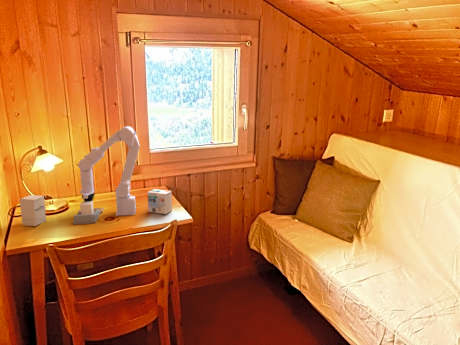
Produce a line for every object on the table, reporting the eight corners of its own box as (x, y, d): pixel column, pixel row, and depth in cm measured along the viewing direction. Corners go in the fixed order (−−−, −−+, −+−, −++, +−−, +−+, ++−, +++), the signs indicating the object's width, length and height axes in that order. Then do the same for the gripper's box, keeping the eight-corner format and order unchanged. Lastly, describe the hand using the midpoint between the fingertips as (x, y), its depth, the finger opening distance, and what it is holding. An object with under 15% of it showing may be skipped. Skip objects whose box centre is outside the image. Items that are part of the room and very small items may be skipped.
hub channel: (100, 213, 185) (99, 206, 185) (95, 223, 172) (95, 214, 171) (79, 214, 184) (78, 207, 183) (73, 224, 170) (72, 216, 169)
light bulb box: (147, 211, 189) (147, 191, 187) (154, 208, 195) (154, 188, 193) (166, 214, 185) (165, 193, 183) (172, 210, 191) (172, 190, 189)
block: (83, 212, 183) (82, 201, 181) (93, 212, 184) (92, 201, 182) (81, 216, 178) (80, 204, 177) (91, 215, 179) (90, 204, 178)
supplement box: (36, 226, 167) (33, 199, 165) (21, 225, 169) (18, 198, 166) (47, 221, 174) (44, 195, 172) (33, 219, 176) (30, 194, 173)
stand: (104, 209, 192) (104, 207, 192) (102, 212, 187) (102, 211, 186) (92, 209, 191) (92, 208, 191) (90, 213, 186) (90, 212, 185)
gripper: (81, 179, 187) (83, 204, 190) (75, 186, 173) (77, 213, 176) (96, 178, 188) (97, 203, 191) (91, 185, 175) (93, 212, 177)
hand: (89, 208), depth 184 cm, fingers closed, pressing on block
